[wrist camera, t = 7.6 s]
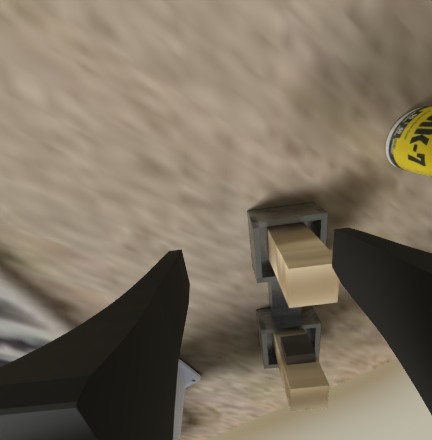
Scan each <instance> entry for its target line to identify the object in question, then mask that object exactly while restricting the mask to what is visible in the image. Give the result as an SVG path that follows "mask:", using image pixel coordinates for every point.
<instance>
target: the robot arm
mask: <svg viewBox="0 0 432 440" xmlns="http://www.w3.org/2000/svg"><path fill="white" fill-rule="evenodd" d="M332 268H333V270H334V271H335V273H336V275H337V277H338V278H339V280H340V282H341V283H342V285H343V286H344V287H345V289H346V290H347V291H348V293H349V294H350V295H351V296H352V298H353V299H354V300H355V301H356V303H357V304H358V305H359V306H360V308H361V309H362V310H363V311H364V313H365V314H366V315H367V316H368V318H369V319H370V320H371V321H372V323H373V324H374V325H375V326H376V328H377V329H378V330H379V332H380V333H381V334H382V336H383V337H384V338H385V340H386V342H387V343H388V345H389V346H390V348H391V349H392V351H393V352H394V354H395V355H396V357H397V358H398V360H399V361H400V363H401V364H402V366H403V368H404V369H405V371H406V373H407V374H408V376H409V377H410V379H411V381H412V382H413V384H414V386H415V387H416V389H417V390H418V392H419V394H420V396H421V397H422V399H423V401H424V402H425V404H426V406H427V408H428V409H429V411H430V413H431V415H432V253H429V252H425V251H422V250H418V249H415V248H411V247H408V246H405V245H402V244H399V243H396V242H393V241H390V240H387V239H384V238H381V237H378V236H374V235H371V234H368V233H365V232H362V231H359V230H355V229H351V228H343V229H335V230H334V243H333V256H332ZM189 288H190V283H189V279H188V275H187V270H186V266H185V262H184V258H183V253H182V250H175V251H169V252H168V253H167V254H166V255H165V256H164V257H163V258H162V259H161V260H160V261H159V262H158V263H157V264H156V265H155V266H154V267H153V268H152V269H151V270H150V271H149V272H148V273H147V274H146V275H145V276H144V277H143V278H141V279H140V280H139V281H138V282H137V283H136V284H135V285H134V286H133V287H132V288H130V289H129V290H128V291H127V292H126V293H125V294H123V295H122V296H121V297H120V298H118V299H117V300H116V301H114V302H113V303H112V304H110V305H109V306H108V307H106V308H105V309H104V310H102V311H101V312H99V313H98V314H96V315H95V316H93V317H92V318H90V319H89V320H87V321H86V322H84V323H82V324H81V325H79V326H78V327H76V328H74V329H73V330H71V331H69V332H68V333H66V334H64V335H62V336H61V337H59V338H57V339H55V340H53V341H52V342H50V343H48V344H46V345H44V346H42V347H41V348H39V349H37V350H35V351H33V352H31V353H29V354H27V355H25V356H23V357H21V358H19V359H17V360H15V361H13V362H11V363H9V364H6V365H4V366H2V367H0V440H180V433H181V423H182V414H183V404H184V395H185V388H186V387H188V386H190V385H192V384H194V383H196V382H198V381H199V380H200V379H201V376H200V375H199V374H198V373H197V372H196V371H194V370H193V369H192V368H190V367H189V366H188V365H187V364H185V363H184V362H183V361H181V360H180V359H179V354H180V348H181V342H182V337H183V332H184V326H185V321H186V315H187V310H188V304H189Z"/></svg>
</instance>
